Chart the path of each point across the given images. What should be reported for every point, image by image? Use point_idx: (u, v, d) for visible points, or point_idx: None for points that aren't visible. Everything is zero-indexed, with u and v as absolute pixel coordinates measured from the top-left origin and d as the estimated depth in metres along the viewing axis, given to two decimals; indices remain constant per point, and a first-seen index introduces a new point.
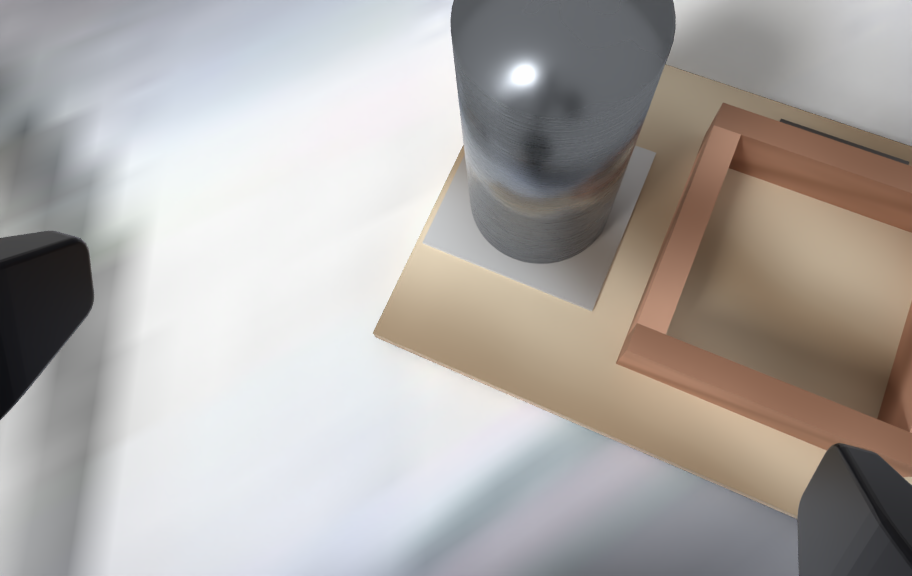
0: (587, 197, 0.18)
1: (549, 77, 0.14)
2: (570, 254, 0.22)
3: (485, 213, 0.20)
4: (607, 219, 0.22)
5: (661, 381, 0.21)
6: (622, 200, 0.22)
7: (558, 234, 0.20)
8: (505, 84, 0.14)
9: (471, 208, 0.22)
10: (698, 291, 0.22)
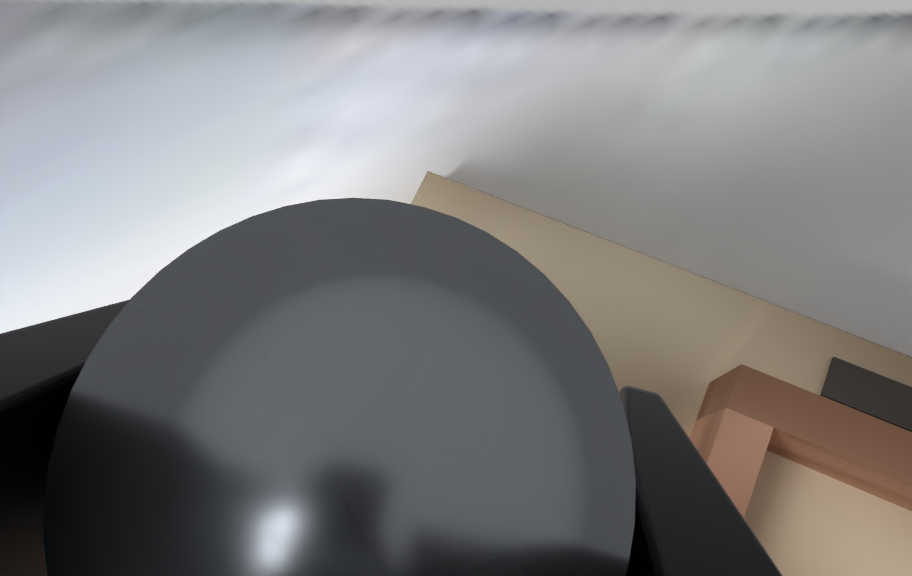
0: None
1: None
2: None
3: None
4: None
5: None
6: None
7: None
8: None
9: None
10: None
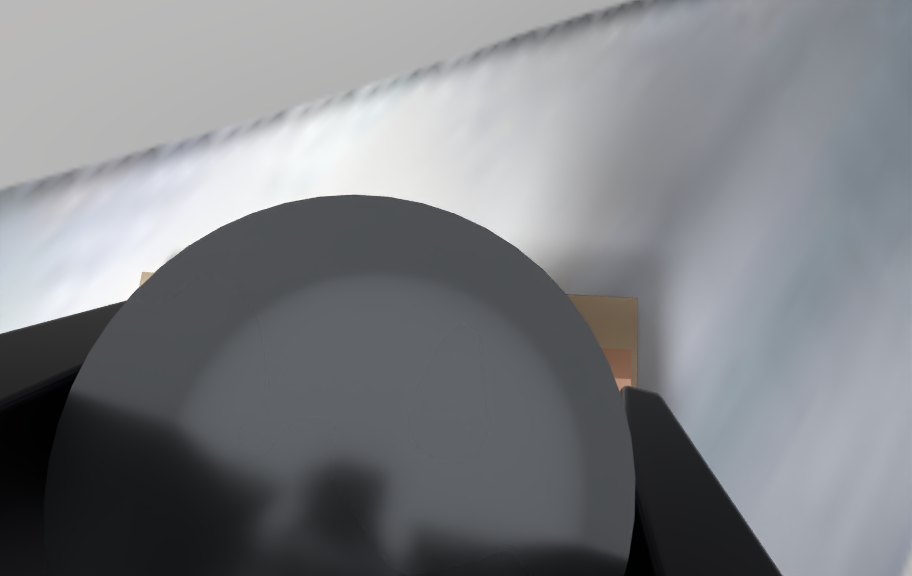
0: None
1: None
2: None
3: None
4: None
5: None
6: None
7: None
8: None
9: None
10: None
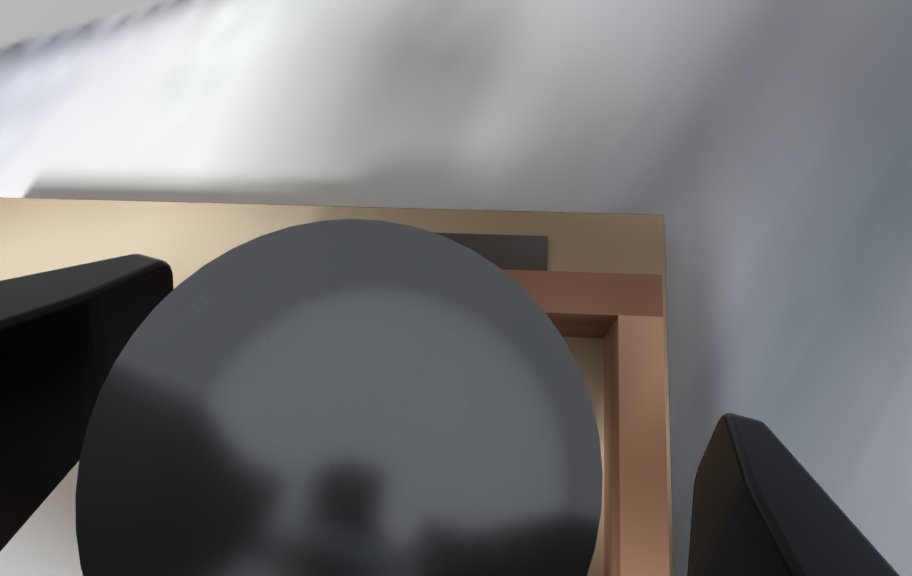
0: None
1: None
2: None
3: None
4: None
5: None
6: None
7: None
8: None
9: None
10: None
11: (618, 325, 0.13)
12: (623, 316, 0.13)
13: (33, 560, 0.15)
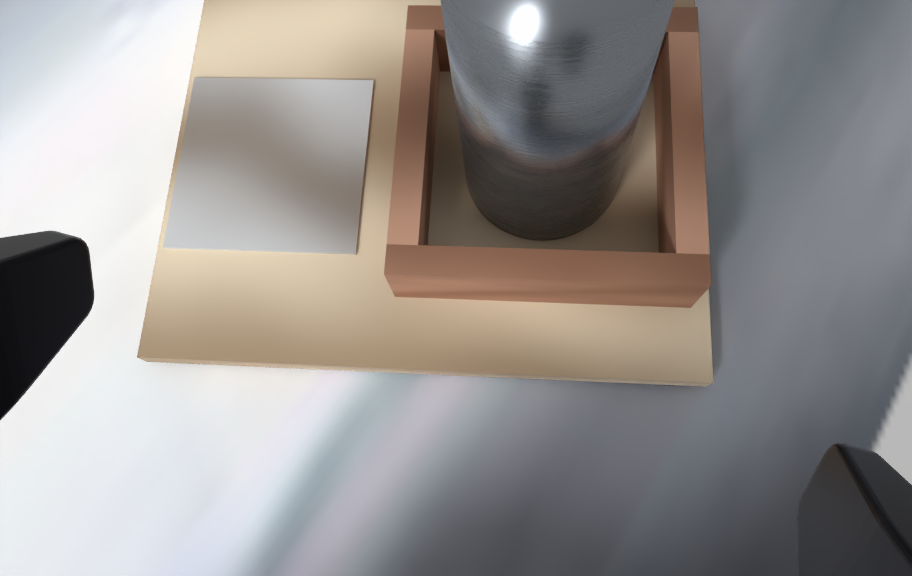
0: (594, 153, 0.16)
1: None
2: (576, 228, 0.20)
3: (481, 182, 0.18)
4: (616, 189, 0.20)
5: (444, 297, 0.20)
6: (353, 136, 0.21)
7: (563, 202, 0.18)
8: (497, 8, 0.12)
9: (467, 182, 0.21)
10: (454, 198, 0.21)
11: (668, 38, 0.20)
12: (671, 33, 0.20)
13: (259, 219, 0.21)
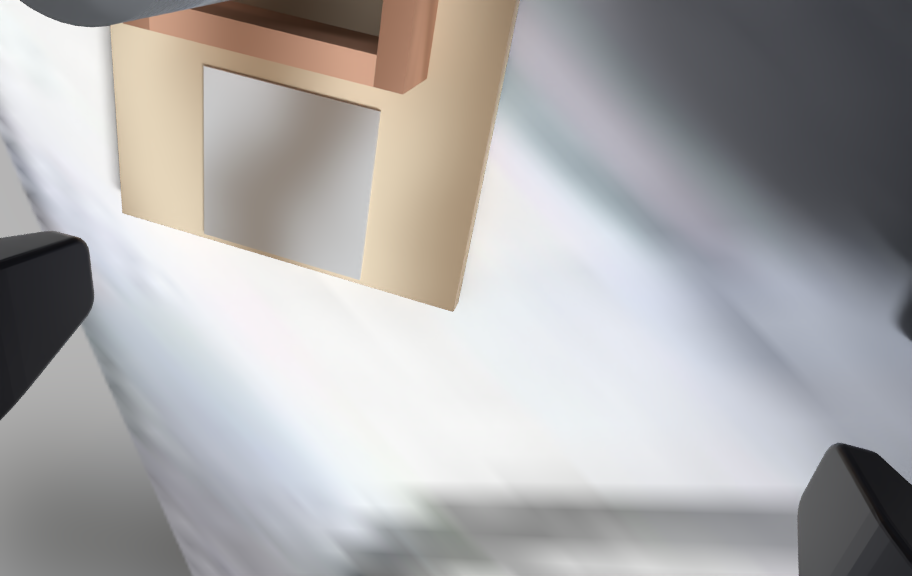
0: None
1: None
2: None
3: None
4: None
5: (433, 27, 0.19)
6: (262, 95, 0.21)
7: None
8: None
9: None
10: None
11: None
12: None
13: (339, 195, 0.22)
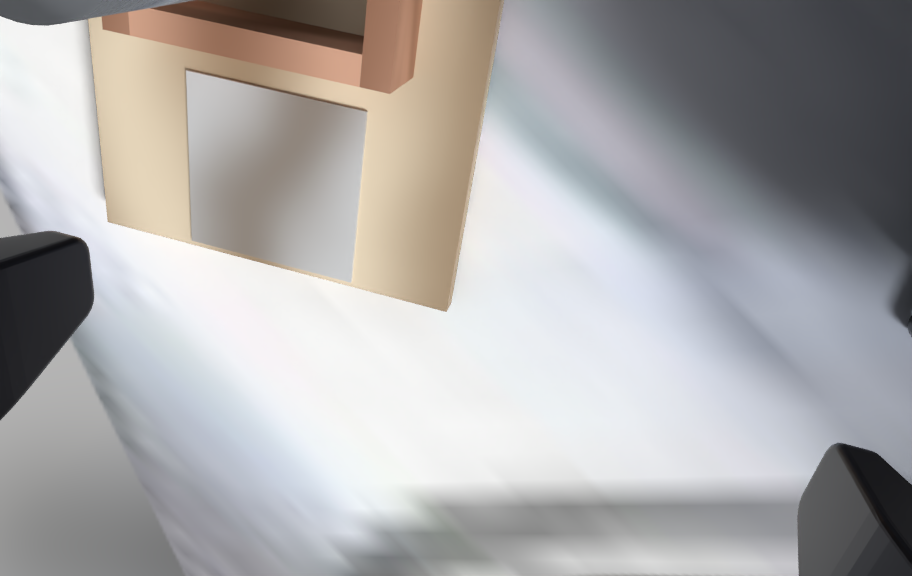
0: None
1: None
2: None
3: None
4: None
5: (418, 25, 0.19)
6: (246, 98, 0.21)
7: None
8: None
9: None
10: None
11: None
12: None
13: (328, 198, 0.22)
